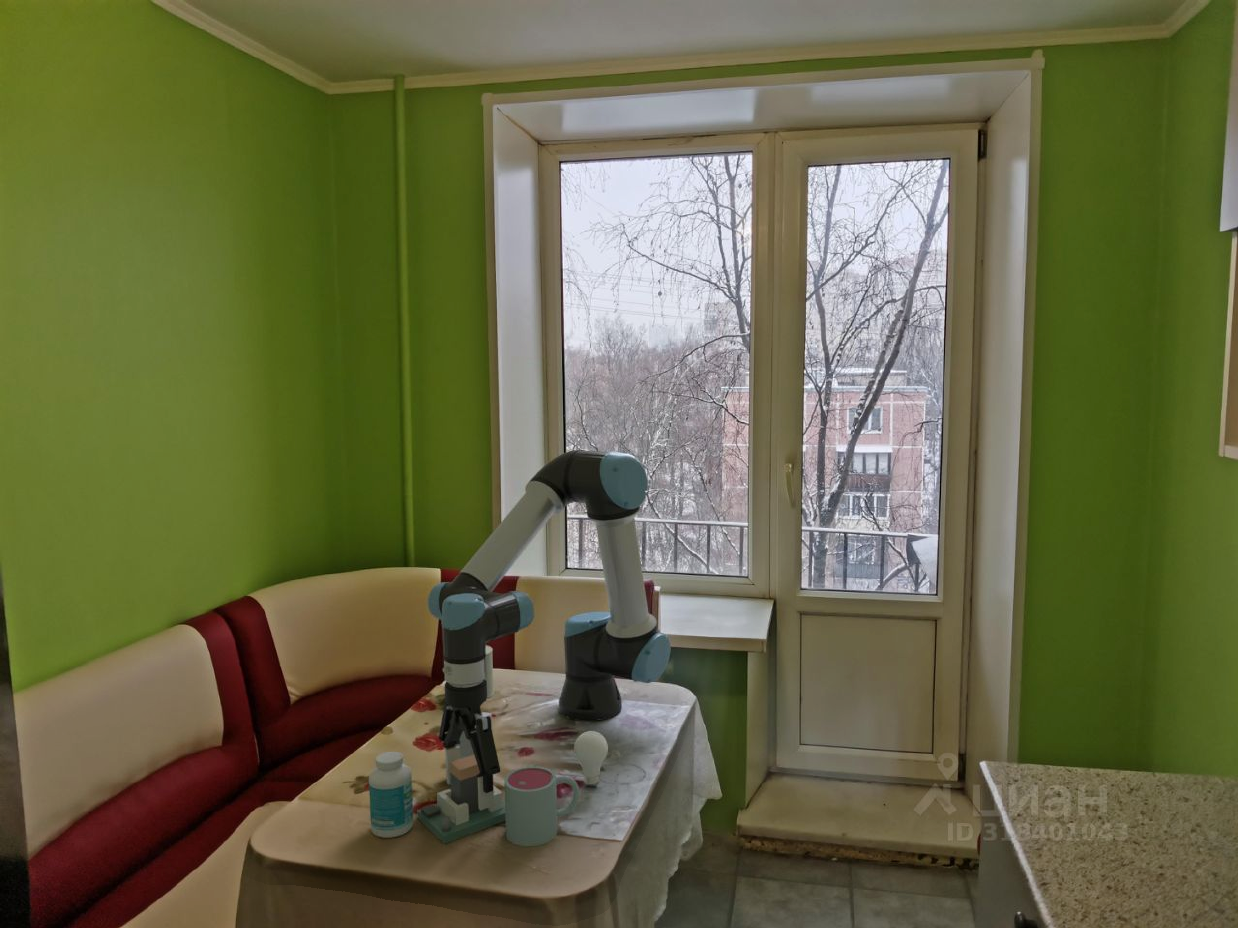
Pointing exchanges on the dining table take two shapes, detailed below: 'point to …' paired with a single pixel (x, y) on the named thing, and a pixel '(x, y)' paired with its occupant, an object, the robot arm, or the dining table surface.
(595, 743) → the light bulb
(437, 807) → the board
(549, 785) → the mug
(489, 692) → the can
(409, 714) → the dining table surface
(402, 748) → the dining table surface
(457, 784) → the plug
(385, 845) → the dining table surface
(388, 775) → the pill bottle
